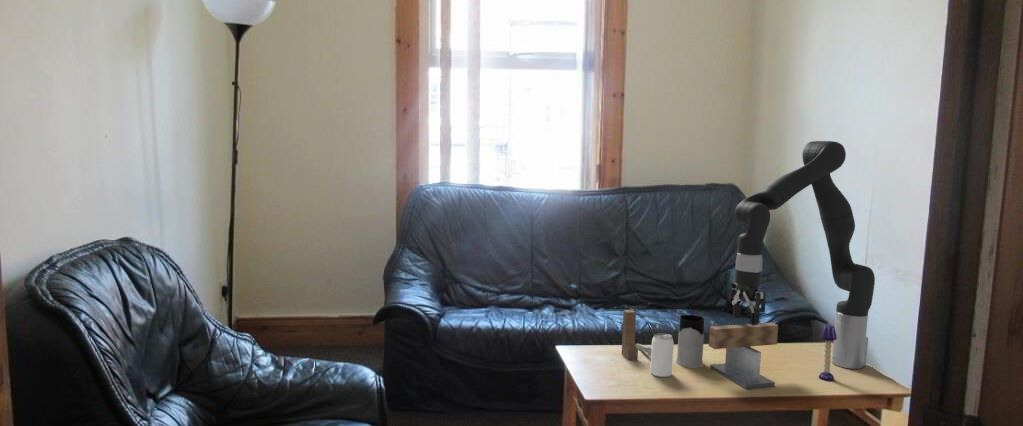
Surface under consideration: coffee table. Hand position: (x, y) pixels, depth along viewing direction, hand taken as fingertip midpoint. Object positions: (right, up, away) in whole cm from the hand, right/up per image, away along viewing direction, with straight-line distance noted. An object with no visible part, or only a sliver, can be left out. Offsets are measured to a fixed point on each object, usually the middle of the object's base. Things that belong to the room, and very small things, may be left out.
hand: (745, 321), depth 204 cm
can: (-25, -17, +3) cm, 30 cm away
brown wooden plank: (0, -7, +1) cm, 8 cm away
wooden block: (-32, -15, +18) cm, 40 cm away
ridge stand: (0, -17, +2) cm, 18 cm away
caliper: (-26, -15, +20) cm, 36 cm away
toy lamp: (+25, -18, +3) cm, 31 cm away
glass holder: (-12, -16, +16) cm, 26 cm away
